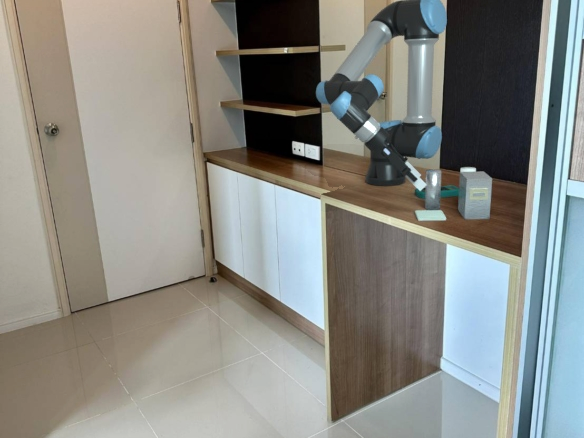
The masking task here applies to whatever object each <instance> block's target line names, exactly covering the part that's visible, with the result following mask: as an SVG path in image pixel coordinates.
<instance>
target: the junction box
mask: <svg viewBox="0 0 584 438" xmlns="http://www.w3.org/2000/svg"><path fill="white" fill-rule="evenodd" d="M458 183H459V185H458V188H459V196H458V204H457V205H458V206H457V211H458V212H459V213H460V215H461V216H462V217H463V218H464V220H490V216H491V214H490V213H491V202H492V201H491V199H492V185H493V178H492V177H491V176H490V175H489V174H488V173H486V172H485V171H481V170H480V171H476V172H459V182H458Z"/></svg>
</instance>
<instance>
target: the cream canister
mask: <svg viewBox="0 0 584 438" xmlns="http://www.w3.org/2000/svg"><path fill="white" fill-rule="evenodd" d="M460 172H477V168H476V167H474V166H472V167H471V166H463V167H460ZM460 172H459V173H460Z"/></svg>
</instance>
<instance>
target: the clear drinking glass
mask: <svg viewBox="0 0 584 438" xmlns="http://www.w3.org/2000/svg"><path fill="white" fill-rule="evenodd" d="M425 183H426V184H427V185H426V186H425V187H424V188H425V199H424V210H441V198H440V194H441V186H442V170H440V169H426V171H425Z"/></svg>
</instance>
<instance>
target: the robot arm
mask: <svg viewBox="0 0 584 438" xmlns="http://www.w3.org/2000/svg"><path fill="white" fill-rule="evenodd" d="M447 16H448V15H447V10H446V8H445V5H444V3H443V2H442V0H396V1H393V2H392V3H390V4H388V5H386V6H385V7H384V8H382V9H380V11H379V12H378V13H376V14H375V16H374V17H373V18H372V19H371V20H370V22H368V24H367V26H366V31H365V33H364V34H363V36H362V37H361V38H360V40H359V41H358V42H357V43H356V45H355V46H354V48H352V50H351V52H350V53H349V54H348V55H347V57H346V58H345V59H344V61H343V62H342V63H341V64H340V66H339V67H338V69H337V70H336V72H334V74H333V75H332V77H331V78H330V79H329V80H323V81H321V82H319V83H318V84H317V86H316V88H315V89H316V90H315V97H316V99H317V101H318V102H319V103H320V104H323V105H330V106H329V110H330V112H331V113H332V114H333V115H334V117H336V119H337V120H339V121H340V122H341V123H342V124H343V125H344V127H346V128H347V129H348V130H349V131H350V132H351V133H352V134H353V135H355V136H354V138H355V140H359V141H360V142H361V143H364V145H365V147H366V148H367V149H368V150H369V151H370V156H369V157H370V160H369V161H370V163H369V166H368V167H367V172H366V174H365V182H366V183H367V184H369V185H372V186H384V187H385V186H389V187H391V186H398V185H402V184H405V182H406V179H407V180H408V181H409V182H410V183H411V184H412V185H413V186H414V187H415V189H416V188H417V189H418V190H419V191H421V190H422V189H423V188H426V185H427V184H426V181H424V180H423V179H422V178H421V176H422V174H421V173H420V172H419V171H418V170H417V169H416V168H415V167H414V166H413V165H412V164H411V163H410V162H409V161H408V159H409V158H413V159H417V160H420V159H425V160H426V159H431V158H433V157H434V156H435V155H436V154H437V152H438V151H439V149H440V146H441V144H442V139H443V136H442V135H443V133H442V130H441V128H440V127H438V126H437V124H436V123H437V122H436V119H435V118H434V117H433V115H432V113H433V111H432V110H433V109H432V108H433V86H434V85H433V83H434V82H433V80H434V79H433V78H434V57H435V56H434V53H435V45H436V43H438V41H439V40H440V34H442V33H443V32H444V31H445V29H446V27H447V23H448V22H447V21H448V19H447ZM397 37H403V41H404V42H405V44H406V45H407V47H408V48H407V49H408V51H407V52H408V53H407V55H408V56H407V84H406V85H407V88H406V89H407V91H406V95H407V96H406V97H407V98H406V116H405V117H404V118H403V119H402V120H401V119H398V120H395V119H394V120H387V121H380V122H378V121H377V119H375V118H374V117H373V116H372V115H371V114H370V112H368V110H370V108H371V107H372V106H373V105H374V104H375V102H376V101H377V100H378V99H379V98H380V96H381V95H382V94H383V92H384V89H385V86H384V82H383V81H382V79H381V78H380V77H379V76H378V75H376V74H366V75H365V76H364V77H363V78H362V79H361V80H360V78H361V77H362V75H363V74H364V73H365V71H366V70H367V68H368V67H369V66H370V64H371V63H372V62H373V60H374V59H375V57H376V56H377V54H379V52H380V51H381V49H382V48H383V47H384V45H388V44H389V43H390V42H391V40H392V39H394V38H397Z"/></svg>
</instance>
